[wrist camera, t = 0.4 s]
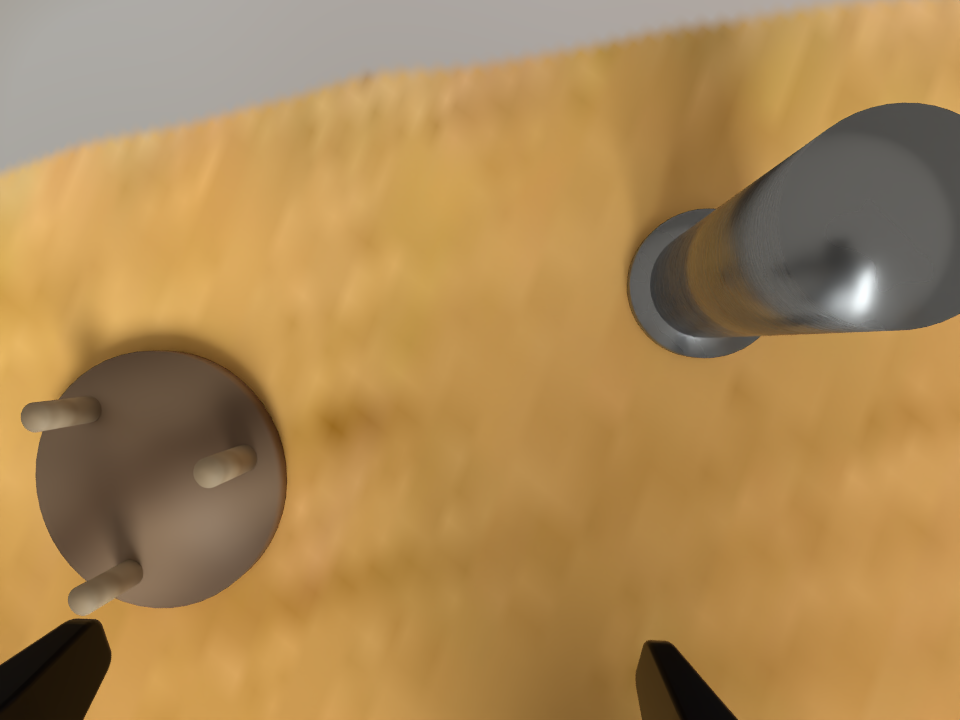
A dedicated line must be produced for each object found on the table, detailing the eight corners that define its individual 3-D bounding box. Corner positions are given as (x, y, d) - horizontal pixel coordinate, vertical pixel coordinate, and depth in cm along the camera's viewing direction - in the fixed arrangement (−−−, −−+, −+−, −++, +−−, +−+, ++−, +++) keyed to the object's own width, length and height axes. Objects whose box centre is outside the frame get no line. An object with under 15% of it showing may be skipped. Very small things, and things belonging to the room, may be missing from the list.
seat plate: (338, 482, 22) (305, 506, 19) (167, 649, 23) (109, 699, 20) (165, 298, 23) (105, 290, 20) (6, 469, 24) (-77, 489, 21)
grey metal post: (808, 285, 20) (1142, 214, 9) (698, 387, 21) (890, 434, 10) (703, 182, 20) (907, -5, 10) (597, 285, 21) (673, 219, 10)
